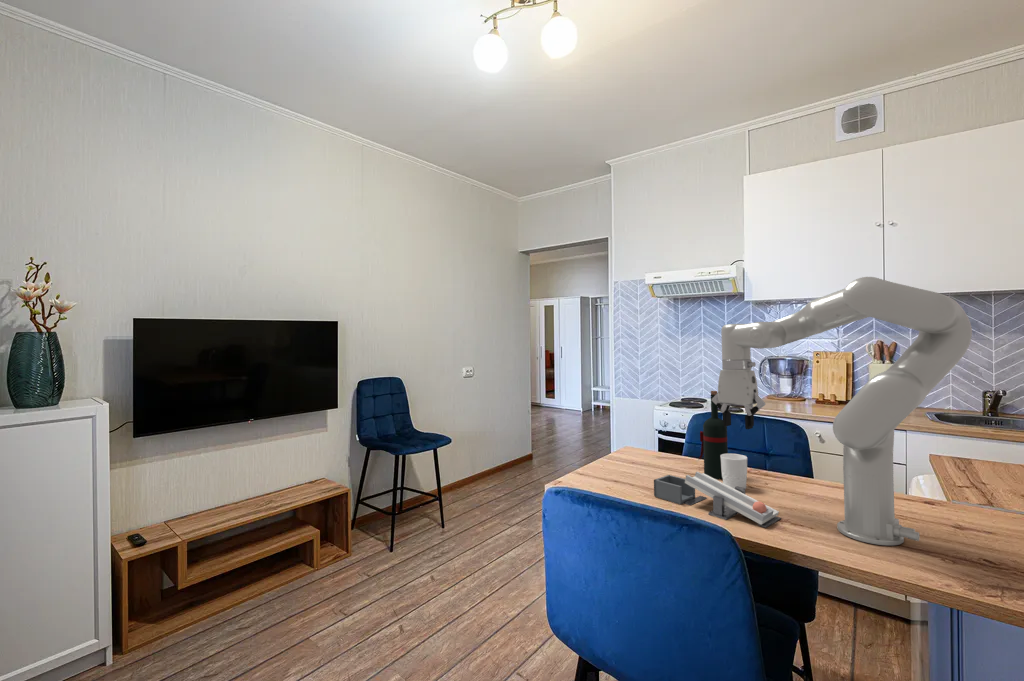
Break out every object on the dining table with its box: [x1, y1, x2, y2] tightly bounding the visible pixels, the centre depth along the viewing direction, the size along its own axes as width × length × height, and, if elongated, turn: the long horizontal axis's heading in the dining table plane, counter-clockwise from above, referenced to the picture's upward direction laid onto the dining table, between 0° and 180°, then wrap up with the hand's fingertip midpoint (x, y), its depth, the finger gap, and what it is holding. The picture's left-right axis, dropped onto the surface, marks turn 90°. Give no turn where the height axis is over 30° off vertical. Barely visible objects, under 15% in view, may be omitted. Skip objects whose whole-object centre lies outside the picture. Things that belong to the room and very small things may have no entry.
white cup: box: [720, 453, 748, 490], centre depth 145 cm, size 8×8×10 cm
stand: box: [683, 486, 782, 529], centre depth 125 cm, size 23×14×5 cm, turn 37°
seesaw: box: [684, 471, 780, 525], centre depth 125 cm, size 22×10×2 cm, turn 38°
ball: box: [753, 500, 766, 514], centre depth 117 cm, size 3×3×3 cm
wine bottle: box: [698, 390, 729, 480], centre depth 158 cm, size 8×10×30 cm
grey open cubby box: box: [653, 474, 696, 506], centre depth 136 cm, size 9×8×5 cm
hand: (738, 426), depth 131 cm, fingers open, 5 cm apart
